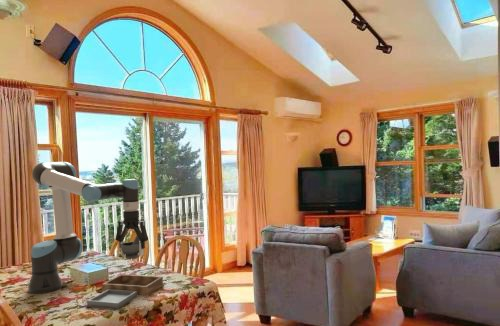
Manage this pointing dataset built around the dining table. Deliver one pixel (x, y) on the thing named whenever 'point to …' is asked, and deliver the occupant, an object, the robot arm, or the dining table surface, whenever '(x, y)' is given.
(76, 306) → the dining table surface
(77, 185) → the robot arm
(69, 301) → the dining table surface
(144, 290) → the tray
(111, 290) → the tray
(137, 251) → the mortar and pestle
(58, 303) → the dining table surface
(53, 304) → the dining table surface
